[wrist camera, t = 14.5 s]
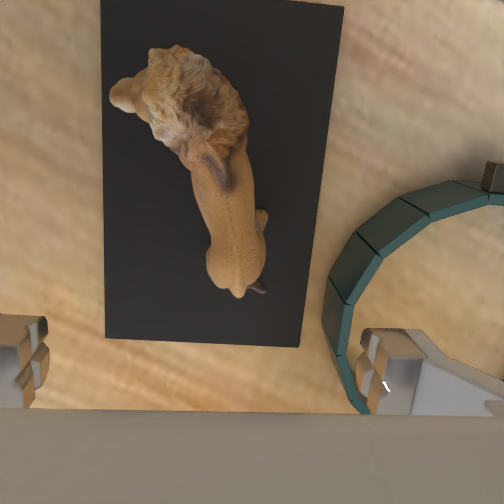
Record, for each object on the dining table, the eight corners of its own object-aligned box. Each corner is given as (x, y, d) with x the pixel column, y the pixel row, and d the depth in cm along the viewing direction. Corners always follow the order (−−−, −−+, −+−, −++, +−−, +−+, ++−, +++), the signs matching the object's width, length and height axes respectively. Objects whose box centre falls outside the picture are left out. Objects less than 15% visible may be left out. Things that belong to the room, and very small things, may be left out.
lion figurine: (128, 78, 26) (79, 68, 17) (217, 41, 25) (213, 12, 17) (227, 303, 30) (228, 383, 22) (304, 274, 30) (335, 344, 21)
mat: (107, 334, 31) (105, 338, 30) (102, -18, 24) (99, -21, 24) (297, 343, 32) (299, 347, 32) (342, 8, 26) (344, 6, 25)
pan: (305, 424, 34) (317, 470, 30) (347, 144, 28) (369, 153, 24) (524, 431, 36) (565, 477, 31) (611, 167, 29) (677, 178, 25)
